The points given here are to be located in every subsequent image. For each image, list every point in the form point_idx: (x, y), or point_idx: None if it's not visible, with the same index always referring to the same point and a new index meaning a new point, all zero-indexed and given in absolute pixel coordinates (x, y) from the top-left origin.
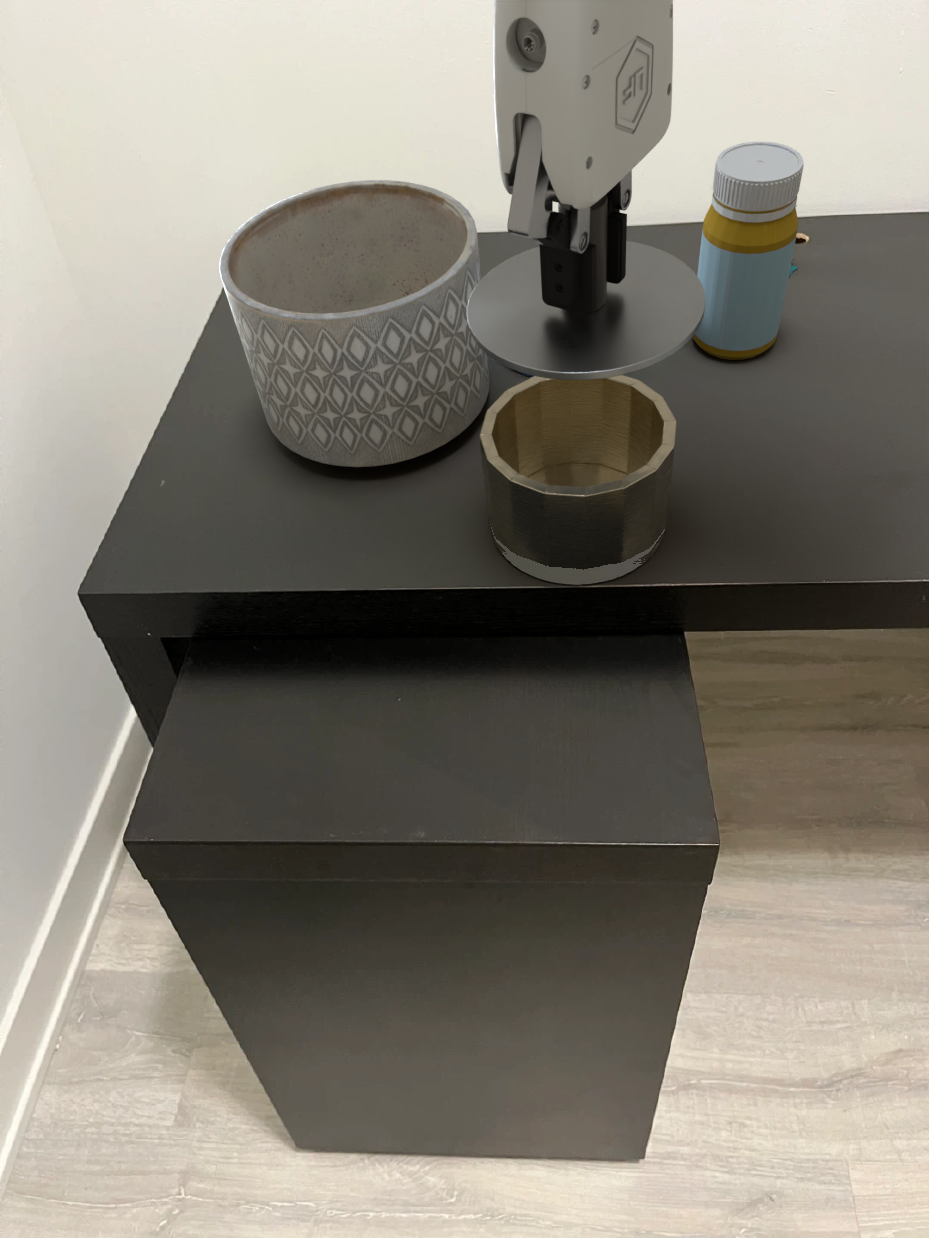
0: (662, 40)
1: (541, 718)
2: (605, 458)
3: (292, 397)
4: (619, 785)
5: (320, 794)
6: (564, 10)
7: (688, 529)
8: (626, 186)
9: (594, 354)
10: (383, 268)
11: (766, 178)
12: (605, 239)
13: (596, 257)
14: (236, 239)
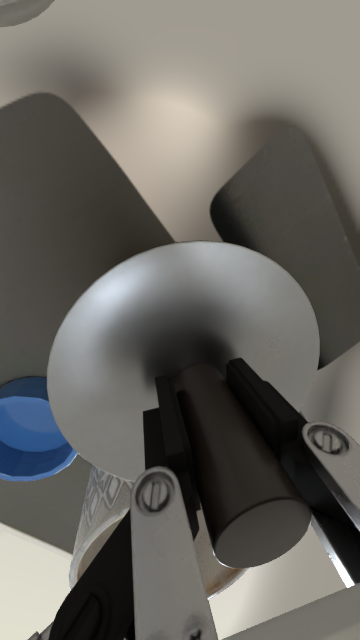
0: None
1: (277, 233)
2: None
3: None
4: (290, 175)
5: (346, 285)
6: None
7: (126, 249)
8: (160, 525)
9: (278, 312)
10: (116, 524)
11: None
12: (222, 430)
13: (270, 406)
14: (213, 594)
